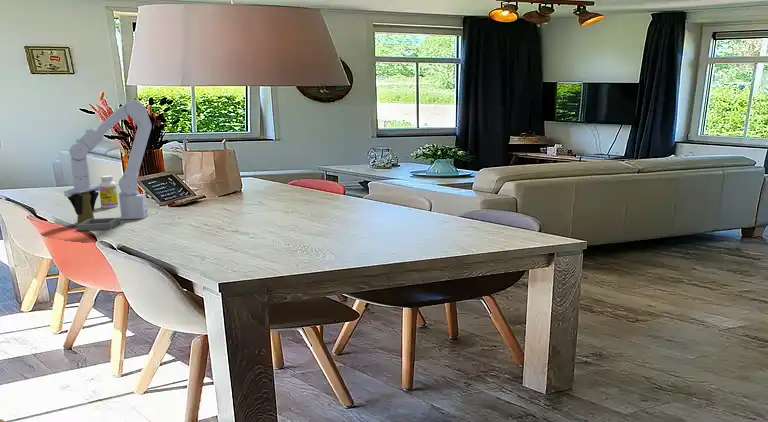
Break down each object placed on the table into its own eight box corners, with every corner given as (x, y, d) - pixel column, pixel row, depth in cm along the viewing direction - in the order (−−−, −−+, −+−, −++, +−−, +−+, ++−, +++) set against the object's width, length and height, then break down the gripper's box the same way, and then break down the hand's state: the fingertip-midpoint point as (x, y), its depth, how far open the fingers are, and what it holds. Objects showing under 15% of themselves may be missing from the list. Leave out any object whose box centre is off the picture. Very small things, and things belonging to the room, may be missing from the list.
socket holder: (119, 222, 251) (119, 217, 251) (110, 229, 241) (109, 223, 240) (88, 224, 251) (88, 218, 250) (78, 230, 240) (77, 225, 239)
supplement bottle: (98, 208, 284) (94, 177, 282) (106, 205, 290) (103, 175, 288) (113, 208, 283) (109, 177, 280) (121, 205, 289) (118, 175, 287)
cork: (88, 223, 252) (85, 194, 250) (73, 223, 253) (70, 193, 251) (98, 220, 258) (95, 191, 256) (84, 220, 259) (80, 191, 257)
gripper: (89, 173, 260) (93, 208, 263) (56, 178, 247) (61, 215, 250) (102, 173, 257) (106, 209, 260) (70, 179, 244) (74, 217, 247)
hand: (85, 212), depth 255 cm, fingers closed on cork, 5 cm apart
